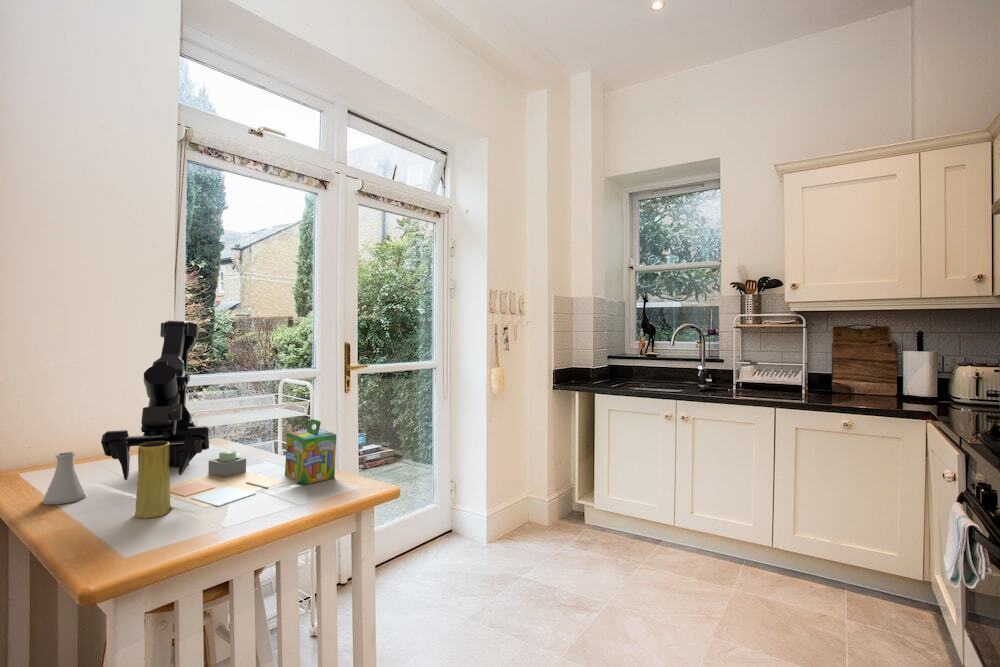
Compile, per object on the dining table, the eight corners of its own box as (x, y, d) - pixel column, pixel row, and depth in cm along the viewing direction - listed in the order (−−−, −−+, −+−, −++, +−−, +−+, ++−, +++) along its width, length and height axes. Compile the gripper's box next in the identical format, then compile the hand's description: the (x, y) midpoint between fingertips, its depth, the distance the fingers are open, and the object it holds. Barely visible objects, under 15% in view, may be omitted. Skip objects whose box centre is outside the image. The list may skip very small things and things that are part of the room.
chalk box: (283, 477, 129) (285, 419, 129) (317, 470, 136) (318, 415, 136) (302, 486, 123) (304, 425, 123) (336, 478, 130) (337, 421, 130)
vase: (127, 515, 102) (128, 445, 102) (158, 505, 108) (159, 439, 108) (147, 521, 100) (149, 449, 100) (177, 510, 106) (179, 442, 105)
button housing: (208, 474, 127) (208, 460, 127) (230, 468, 133) (230, 455, 132) (224, 478, 125) (224, 464, 124) (245, 472, 130) (246, 458, 130)
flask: (36, 507, 105) (37, 459, 104) (48, 496, 111) (48, 450, 111) (81, 503, 108) (81, 456, 108) (90, 492, 114) (90, 448, 114)
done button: (215, 466, 128) (215, 452, 128) (229, 463, 131) (229, 449, 131) (225, 469, 126) (225, 455, 126) (239, 465, 129) (239, 451, 129)
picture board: (149, 493, 115) (149, 489, 115) (230, 471, 133) (230, 467, 133) (211, 512, 105) (211, 507, 105) (289, 485, 123) (289, 481, 123)
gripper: (104, 392, 103) (87, 460, 94) (209, 389, 112) (204, 451, 102) (113, 423, 111) (98, 489, 101) (211, 418, 119) (206, 479, 109)
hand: (153, 476), depth 103 cm, fingers open, 9 cm apart
